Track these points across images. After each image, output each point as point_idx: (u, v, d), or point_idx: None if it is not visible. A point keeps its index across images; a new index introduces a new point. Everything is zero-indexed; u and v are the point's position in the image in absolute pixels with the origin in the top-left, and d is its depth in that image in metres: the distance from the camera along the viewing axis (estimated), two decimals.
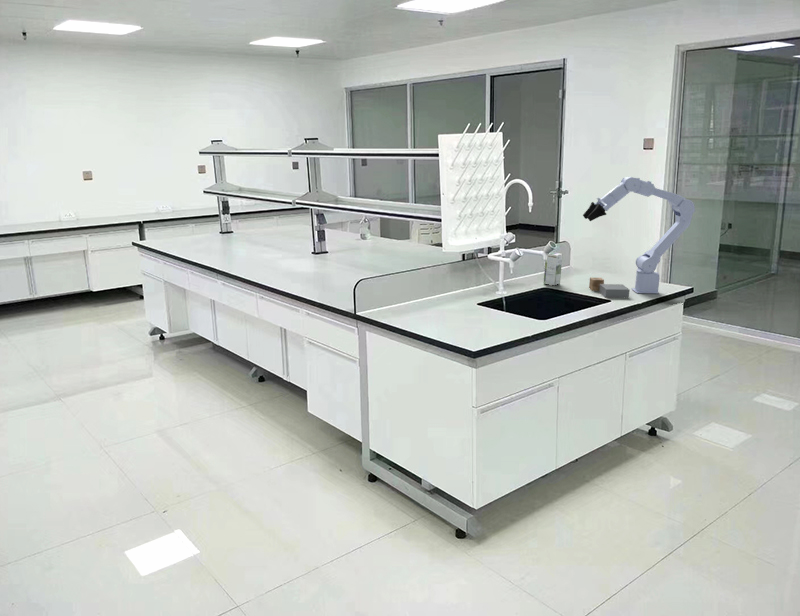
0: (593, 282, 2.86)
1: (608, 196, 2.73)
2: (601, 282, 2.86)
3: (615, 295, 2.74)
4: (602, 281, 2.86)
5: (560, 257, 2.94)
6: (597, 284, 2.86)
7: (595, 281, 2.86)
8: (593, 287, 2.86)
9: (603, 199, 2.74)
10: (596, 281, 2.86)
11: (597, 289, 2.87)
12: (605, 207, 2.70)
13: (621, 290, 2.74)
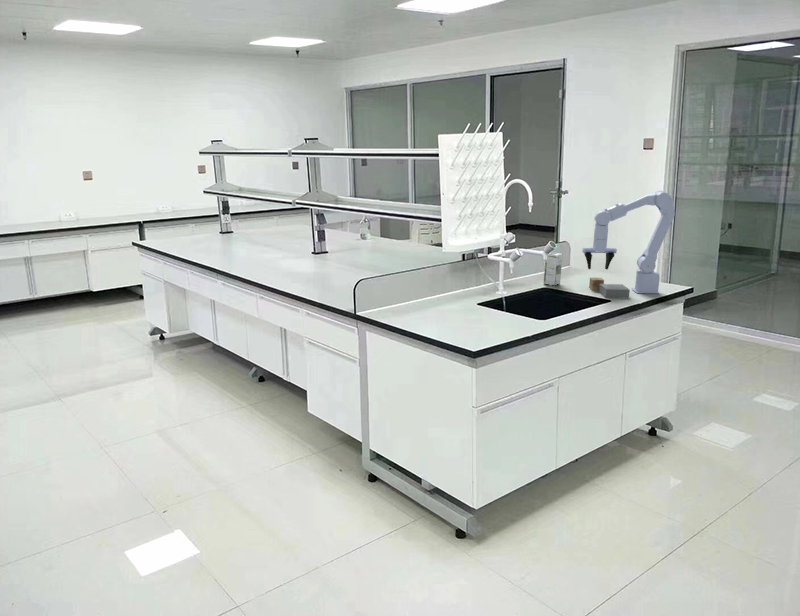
0: (593, 282, 2.86)
1: None
2: (601, 282, 2.86)
3: (616, 295, 2.74)
4: (602, 281, 2.86)
5: (560, 257, 2.94)
6: (597, 284, 2.86)
7: (595, 281, 2.86)
8: (593, 287, 2.86)
9: None
10: (596, 281, 2.86)
11: (597, 289, 2.87)
12: (582, 251, 2.85)
13: (621, 290, 2.74)
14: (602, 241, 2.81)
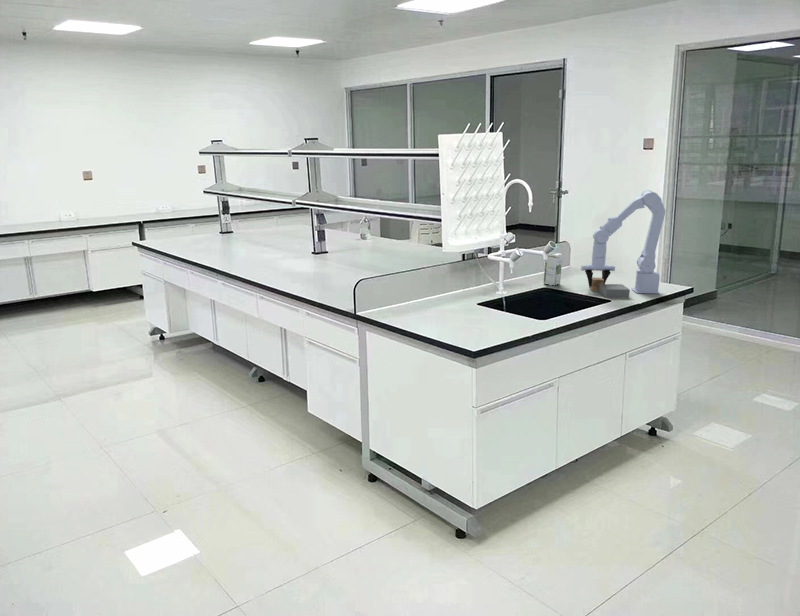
0: (593, 282, 2.86)
1: None
2: (601, 282, 2.86)
3: (616, 295, 2.74)
4: (602, 281, 2.86)
5: (560, 257, 2.94)
6: (597, 284, 2.86)
7: (595, 281, 2.86)
8: (593, 287, 2.86)
9: None
10: (596, 281, 2.86)
11: (597, 289, 2.87)
12: (581, 268, 2.87)
13: (621, 290, 2.74)
14: (600, 259, 2.83)
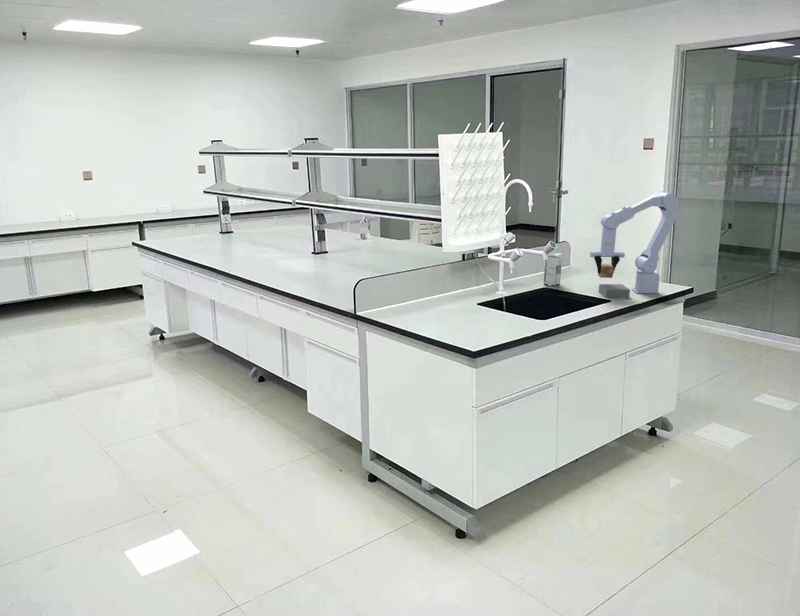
0: (602, 269, 2.80)
1: None
2: (610, 269, 2.80)
3: (616, 295, 2.74)
4: (611, 268, 2.80)
5: (560, 257, 2.94)
6: (606, 271, 2.80)
7: (604, 268, 2.80)
8: (602, 274, 2.80)
9: None
10: (605, 268, 2.80)
11: (606, 276, 2.81)
12: (590, 255, 2.81)
13: (622, 290, 2.74)
14: (610, 245, 2.77)
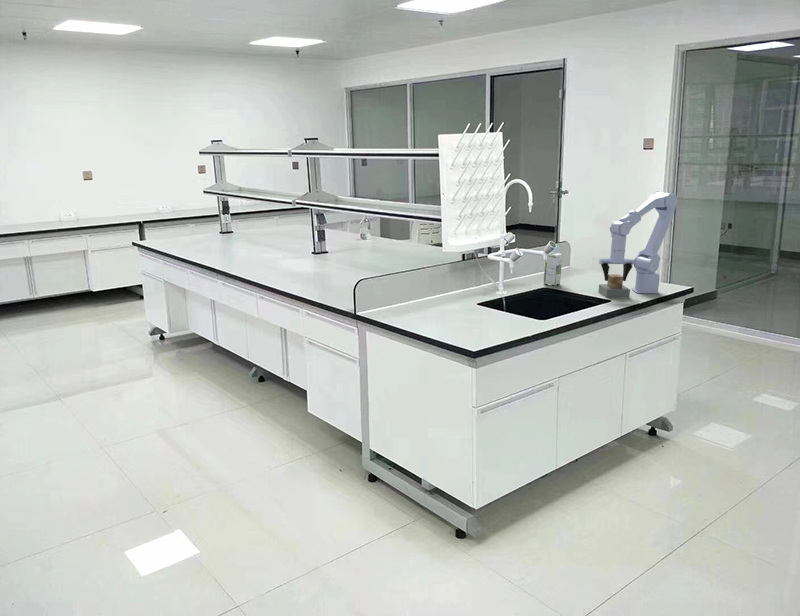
0: (612, 279, 2.75)
1: None
2: (620, 279, 2.75)
3: (616, 295, 2.74)
4: (621, 278, 2.75)
5: (560, 257, 2.94)
6: (616, 281, 2.75)
7: (614, 278, 2.75)
8: (612, 284, 2.76)
9: None
10: (615, 278, 2.75)
11: (616, 286, 2.76)
12: (599, 262, 2.76)
13: (622, 290, 2.74)
14: (620, 252, 2.72)
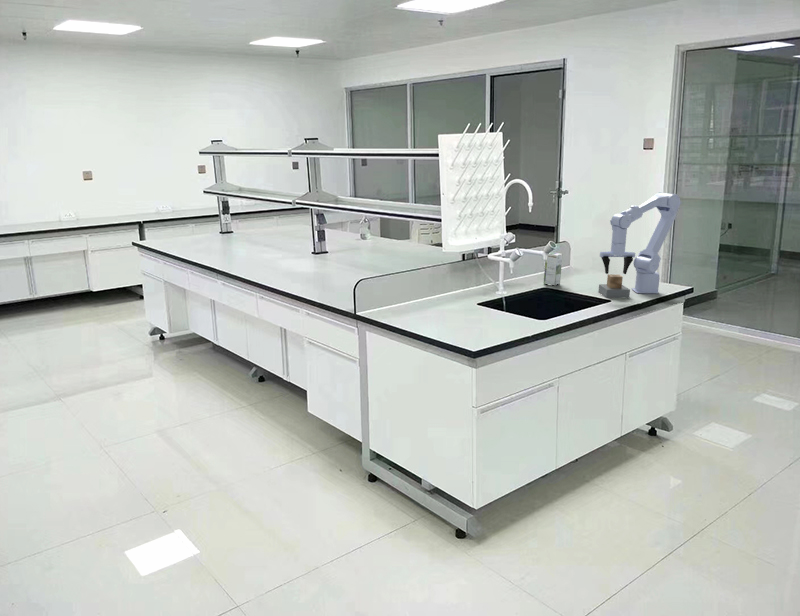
0: (611, 279, 2.75)
1: None
2: (620, 279, 2.75)
3: (616, 295, 2.74)
4: (620, 278, 2.75)
5: (560, 257, 2.94)
6: (615, 281, 2.75)
7: (613, 278, 2.75)
8: (611, 284, 2.76)
9: None
10: (614, 278, 2.75)
11: (615, 286, 2.76)
12: (600, 255, 2.76)
13: (622, 291, 2.74)
14: (620, 245, 2.71)
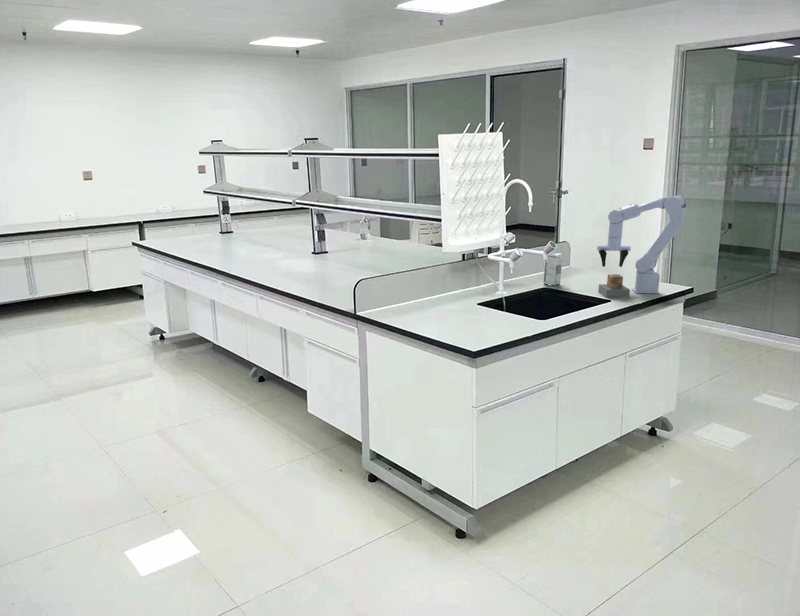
0: (612, 279, 2.75)
1: None
2: (620, 279, 2.75)
3: (616, 295, 2.74)
4: (621, 278, 2.75)
5: (560, 257, 2.94)
6: (616, 281, 2.75)
7: (614, 278, 2.75)
8: (612, 284, 2.76)
9: None
10: (615, 278, 2.75)
11: (616, 286, 2.76)
12: (597, 248, 2.91)
13: (622, 290, 2.74)
14: (616, 239, 2.86)
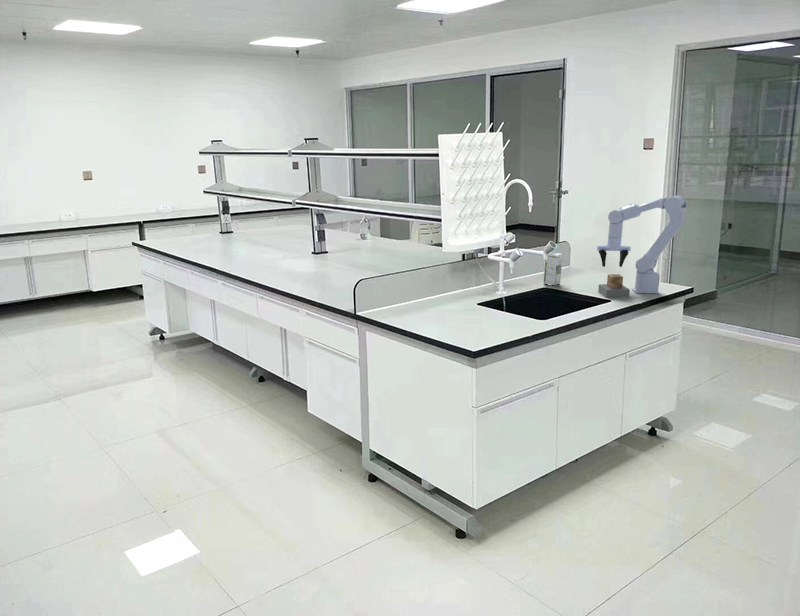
0: (612, 279, 2.75)
1: None
2: (620, 279, 2.75)
3: (616, 295, 2.74)
4: (621, 278, 2.75)
5: (560, 257, 2.94)
6: (616, 281, 2.75)
7: (614, 278, 2.75)
8: (612, 284, 2.76)
9: None
10: (615, 278, 2.75)
11: (616, 286, 2.76)
12: (597, 248, 2.91)
13: (621, 290, 2.74)
14: (616, 239, 2.86)
